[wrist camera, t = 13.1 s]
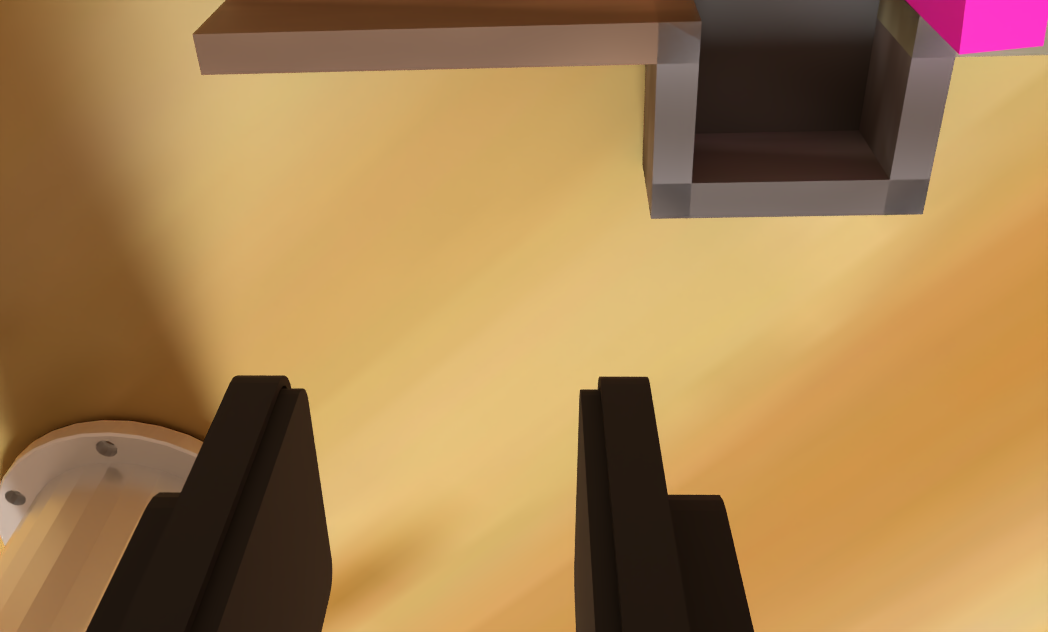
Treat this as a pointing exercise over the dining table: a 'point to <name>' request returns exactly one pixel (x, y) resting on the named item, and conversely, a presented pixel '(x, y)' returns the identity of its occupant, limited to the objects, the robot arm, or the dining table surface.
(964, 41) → the toy block
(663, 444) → the dining table surface
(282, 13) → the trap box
